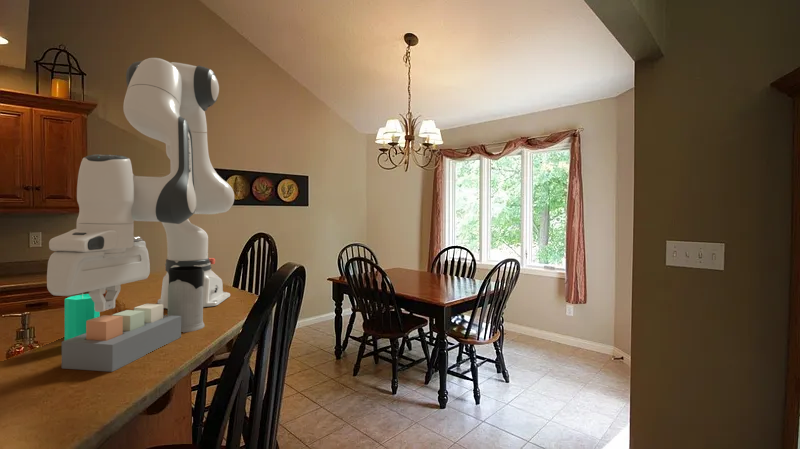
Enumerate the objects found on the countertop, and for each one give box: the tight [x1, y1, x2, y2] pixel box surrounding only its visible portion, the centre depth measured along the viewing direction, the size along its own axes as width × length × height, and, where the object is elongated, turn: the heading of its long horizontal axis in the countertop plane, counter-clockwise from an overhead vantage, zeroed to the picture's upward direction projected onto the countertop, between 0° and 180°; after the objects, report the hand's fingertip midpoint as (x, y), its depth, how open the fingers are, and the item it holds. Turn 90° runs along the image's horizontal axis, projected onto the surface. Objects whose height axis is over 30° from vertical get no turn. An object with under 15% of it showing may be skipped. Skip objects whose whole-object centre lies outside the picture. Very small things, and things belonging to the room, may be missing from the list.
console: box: [61, 314, 182, 373], centre depth 83 cm, size 20×10×5 cm, turn 176°
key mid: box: [111, 309, 145, 331], centre depth 83 cm, size 4×4×6 cm
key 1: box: [86, 314, 123, 341], centre depth 77 cm, size 4×4×6 cm
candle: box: [64, 293, 101, 341], centre depth 86 cm, size 6×6×12 cm
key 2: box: [133, 303, 164, 323], centre depth 89 cm, size 4×4×6 cm
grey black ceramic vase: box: [167, 266, 205, 333], centre depth 103 cm, size 9×14×15 cm, turn 3°
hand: (105, 310), depth 77 cm, fingers closed
